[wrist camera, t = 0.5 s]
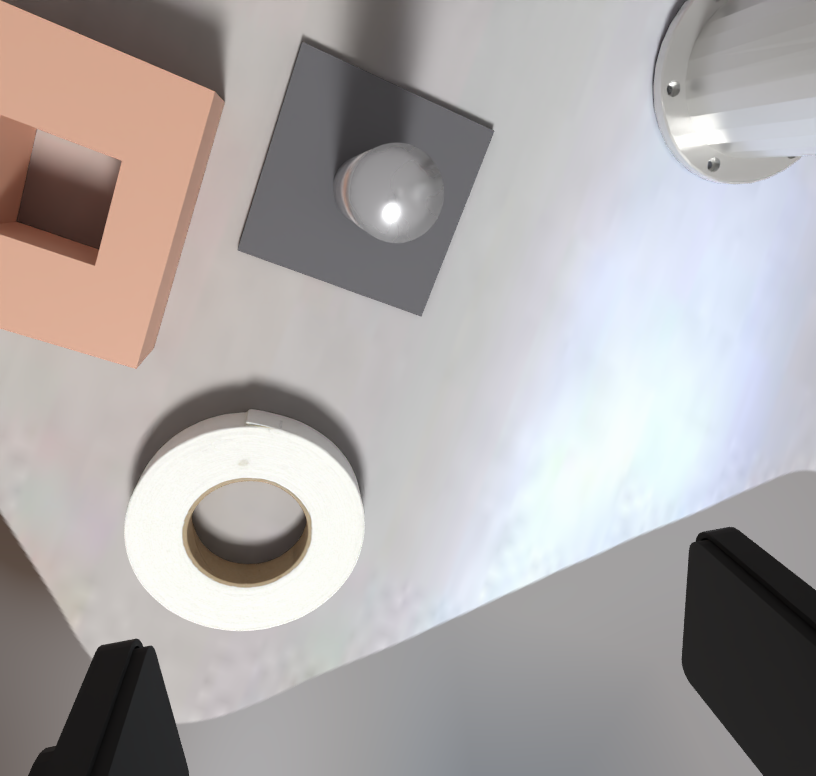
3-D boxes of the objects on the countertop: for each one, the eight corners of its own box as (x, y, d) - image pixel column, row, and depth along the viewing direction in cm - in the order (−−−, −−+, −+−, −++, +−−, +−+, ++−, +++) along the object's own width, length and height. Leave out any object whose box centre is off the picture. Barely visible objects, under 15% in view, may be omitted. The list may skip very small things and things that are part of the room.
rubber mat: (302, 43, 34) (302, 41, 34) (492, 131, 38) (494, 130, 37) (238, 249, 37) (237, 250, 37) (420, 315, 40) (421, 316, 40)
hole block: (-11, 3, 32) (-58, -25, 27) (224, 102, 35) (215, 91, 31) (-64, 281, 35) (-113, 294, 31) (153, 348, 38) (136, 368, 34)
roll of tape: (377, 578, 47) (382, 602, 44) (170, 627, 45) (162, 655, 42) (339, 387, 41) (342, 401, 39) (103, 434, 40) (89, 453, 37)
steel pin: (346, 143, 36) (369, 126, 25) (409, 170, 37) (458, 165, 26) (323, 210, 37) (335, 222, 26) (385, 234, 38) (423, 256, 27)
